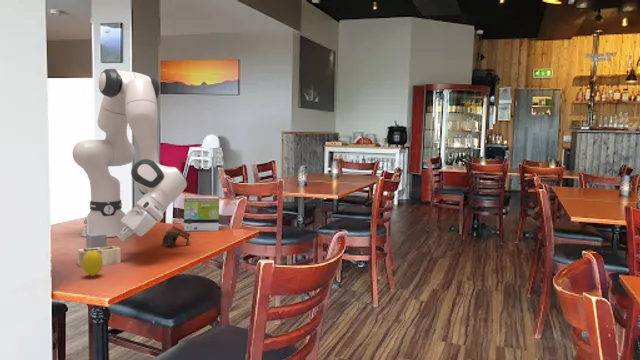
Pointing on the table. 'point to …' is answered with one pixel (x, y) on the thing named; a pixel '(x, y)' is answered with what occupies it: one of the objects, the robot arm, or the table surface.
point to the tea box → (201, 213)
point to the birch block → (102, 254)
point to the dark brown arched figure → (174, 236)
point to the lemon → (92, 263)
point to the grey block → (96, 240)
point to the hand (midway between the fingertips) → (119, 239)
